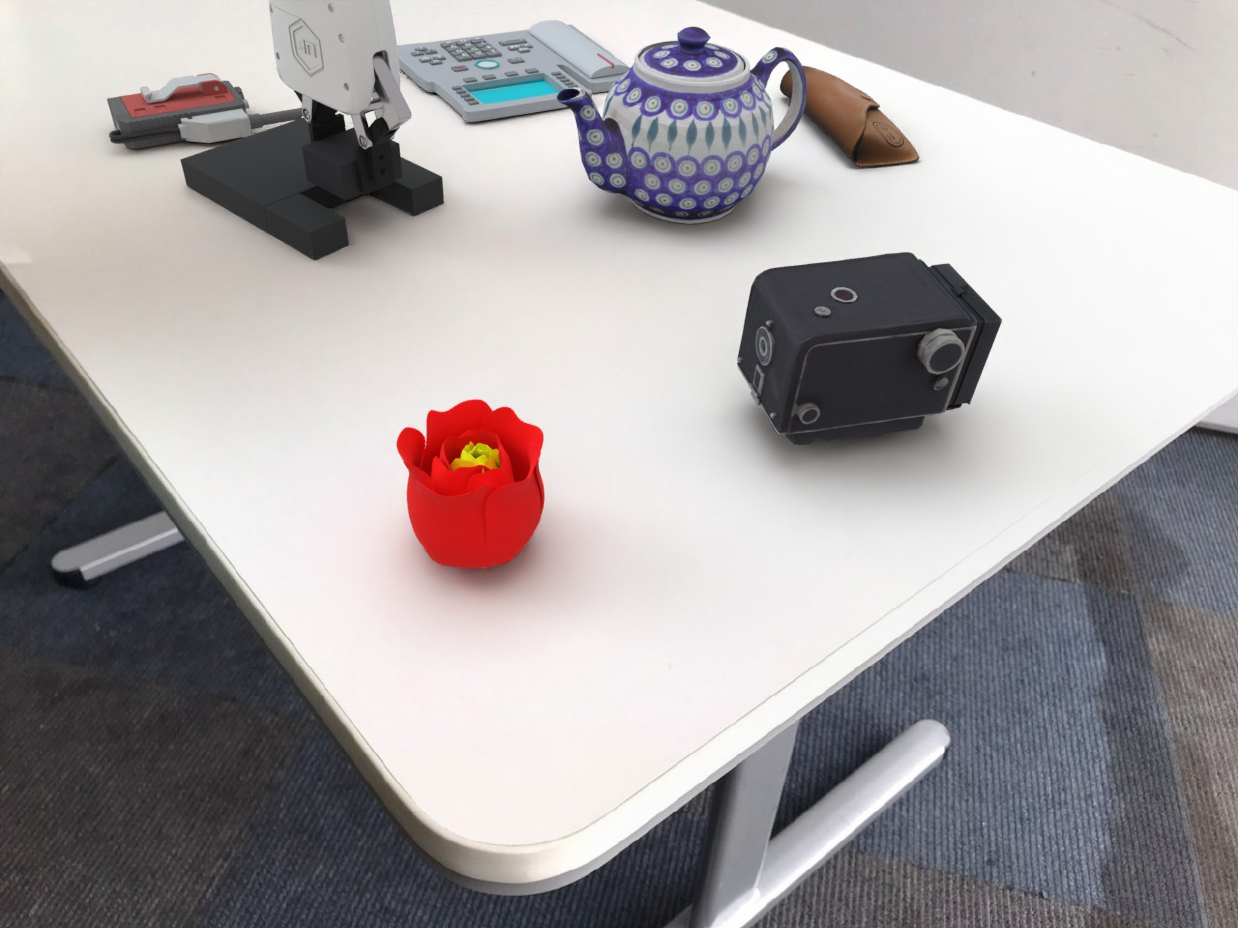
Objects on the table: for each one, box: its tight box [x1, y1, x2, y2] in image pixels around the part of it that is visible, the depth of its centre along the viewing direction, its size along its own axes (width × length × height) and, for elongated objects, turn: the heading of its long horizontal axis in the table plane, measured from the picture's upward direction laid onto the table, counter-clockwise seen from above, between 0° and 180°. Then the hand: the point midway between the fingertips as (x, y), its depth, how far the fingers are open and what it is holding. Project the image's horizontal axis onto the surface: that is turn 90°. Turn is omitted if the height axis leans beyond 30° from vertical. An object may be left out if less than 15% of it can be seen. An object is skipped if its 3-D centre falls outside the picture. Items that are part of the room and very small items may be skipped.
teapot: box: [556, 26, 807, 225], centre depth 88 cm, size 25×15×15 cm, turn 116°
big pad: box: [180, 116, 445, 261], centre depth 89 cm, size 14×18×2 cm
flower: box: [396, 398, 546, 570], centre depth 57 cm, size 8×8×8 cm
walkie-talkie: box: [106, 72, 303, 150], centre depth 98 cm, size 9×4×20 cm
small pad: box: [302, 126, 403, 201], centre depth 84 cm, size 6×5×3 cm
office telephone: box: [397, 19, 631, 123], centre depth 112 cm, size 23×3×20 cm
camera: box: [736, 251, 1003, 446], centre depth 66 cm, size 11×11×15 cm
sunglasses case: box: [779, 65, 920, 168], centre depth 106 cm, size 18×7×7 cm
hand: (354, 174), depth 85 cm, fingers closed on small pad, 4 cm apart
